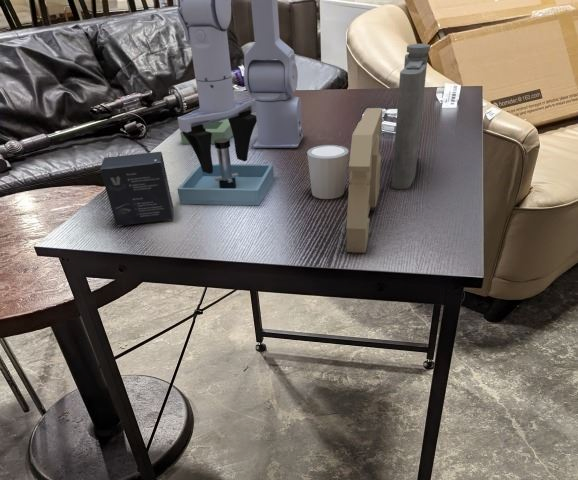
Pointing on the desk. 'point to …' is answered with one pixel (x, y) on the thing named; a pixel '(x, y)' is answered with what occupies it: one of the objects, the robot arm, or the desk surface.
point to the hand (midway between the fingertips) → (225, 165)
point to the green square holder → (215, 131)
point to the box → (137, 188)
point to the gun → (363, 178)
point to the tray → (207, 190)
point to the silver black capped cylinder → (225, 164)
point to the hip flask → (409, 115)
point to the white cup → (327, 170)
